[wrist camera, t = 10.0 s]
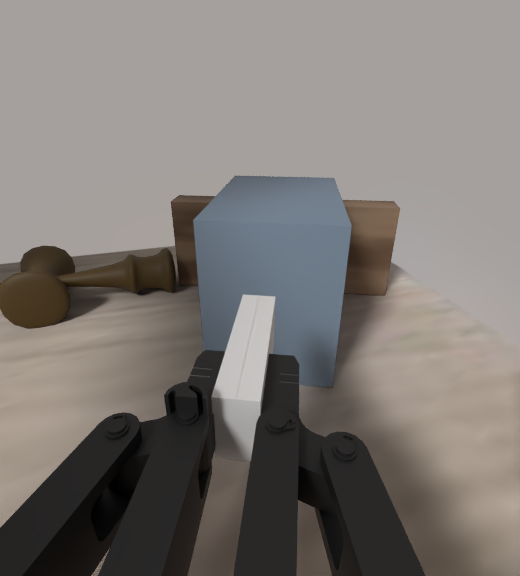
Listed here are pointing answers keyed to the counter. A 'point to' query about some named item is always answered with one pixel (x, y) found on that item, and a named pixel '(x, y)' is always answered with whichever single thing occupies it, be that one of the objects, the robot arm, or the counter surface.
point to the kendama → (73, 283)
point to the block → (276, 265)
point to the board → (362, 250)
